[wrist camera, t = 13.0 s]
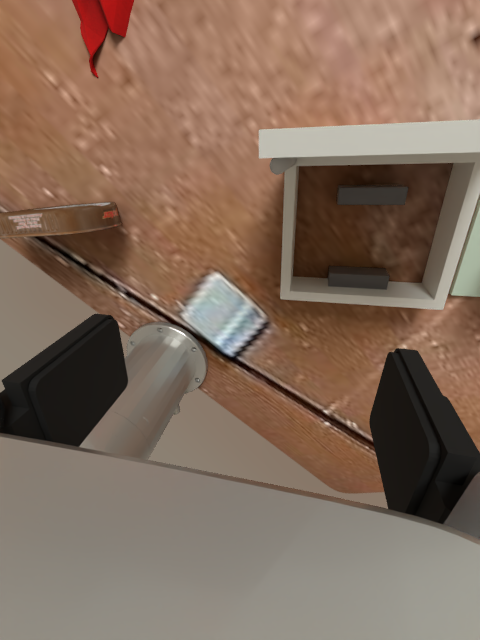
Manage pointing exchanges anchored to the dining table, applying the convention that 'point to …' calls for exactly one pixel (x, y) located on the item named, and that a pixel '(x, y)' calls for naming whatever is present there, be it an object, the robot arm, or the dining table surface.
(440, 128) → the equipment case
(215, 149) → the dining table surface
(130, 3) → the cloth
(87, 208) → the tin
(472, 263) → the mat
